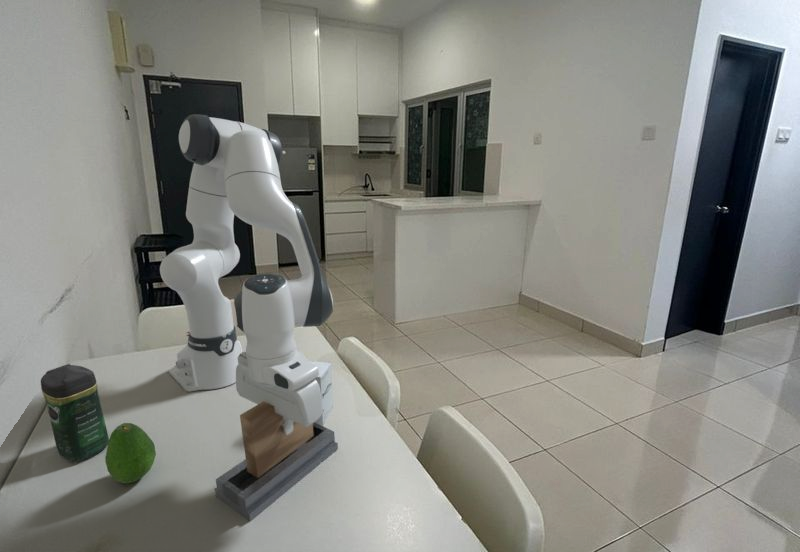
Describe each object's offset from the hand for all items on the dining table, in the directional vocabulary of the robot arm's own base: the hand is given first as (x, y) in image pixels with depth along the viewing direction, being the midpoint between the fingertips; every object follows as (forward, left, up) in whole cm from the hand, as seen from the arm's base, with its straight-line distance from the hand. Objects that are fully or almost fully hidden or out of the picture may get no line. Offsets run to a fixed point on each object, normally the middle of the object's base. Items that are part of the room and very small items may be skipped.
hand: (279, 428), depth 79 cm
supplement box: (-8, +17, -10) cm, 21 cm away
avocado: (-22, -17, -10) cm, 30 cm away
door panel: (0, 0, -6) cm, 6 cm away
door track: (0, 0, -10) cm, 10 cm away
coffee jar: (-40, -19, -10) cm, 46 cm away
